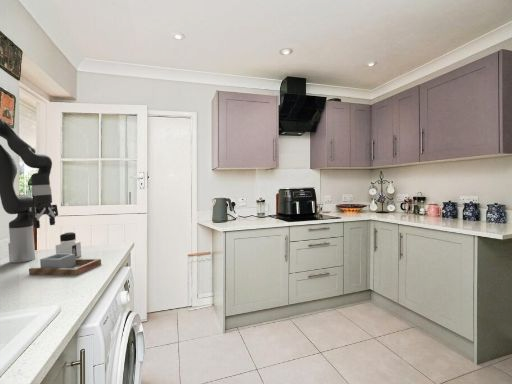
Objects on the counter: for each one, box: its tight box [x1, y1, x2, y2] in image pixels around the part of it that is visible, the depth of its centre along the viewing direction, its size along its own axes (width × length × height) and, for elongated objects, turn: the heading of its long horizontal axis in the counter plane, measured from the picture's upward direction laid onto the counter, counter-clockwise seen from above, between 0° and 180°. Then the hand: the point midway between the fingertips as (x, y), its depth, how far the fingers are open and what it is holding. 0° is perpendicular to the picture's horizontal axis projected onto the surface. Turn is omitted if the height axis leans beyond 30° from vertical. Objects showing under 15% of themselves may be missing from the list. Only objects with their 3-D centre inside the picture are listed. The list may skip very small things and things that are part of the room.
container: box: [55, 231, 82, 259], centre depth 138 cm, size 8×8×13 cm
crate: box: [39, 253, 77, 268], centre depth 120 cm, size 9×9×6 cm
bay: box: [28, 258, 102, 276], centre depth 120 cm, size 22×15×2 cm
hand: (45, 226), depth 133 cm, fingers open, 8 cm apart
